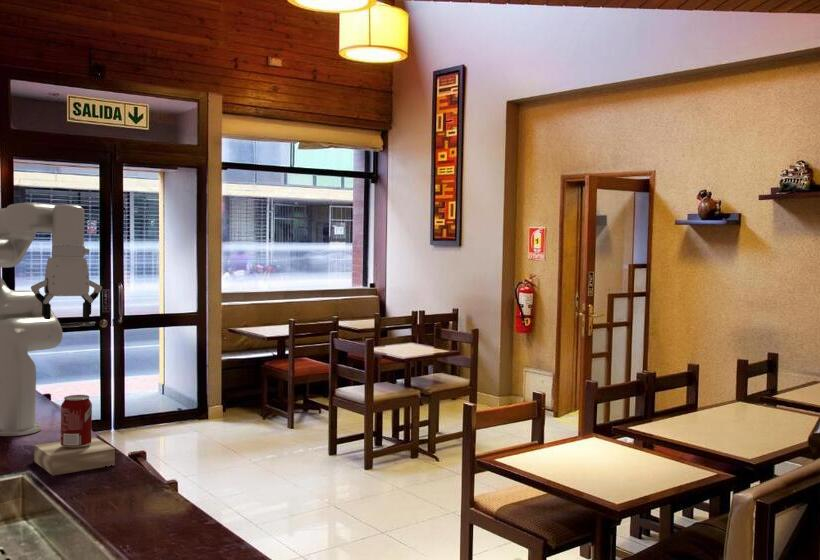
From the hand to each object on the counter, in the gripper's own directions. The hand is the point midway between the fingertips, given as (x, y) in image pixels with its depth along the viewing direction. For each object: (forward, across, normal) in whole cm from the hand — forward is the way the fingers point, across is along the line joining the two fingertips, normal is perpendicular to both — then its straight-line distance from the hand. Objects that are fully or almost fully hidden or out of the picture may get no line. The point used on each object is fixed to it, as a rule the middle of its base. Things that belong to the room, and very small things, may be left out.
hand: (66, 318), depth 192 cm
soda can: (+30, +3, +18) cm, 35 cm away
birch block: (+33, +4, +18) cm, 38 cm away
